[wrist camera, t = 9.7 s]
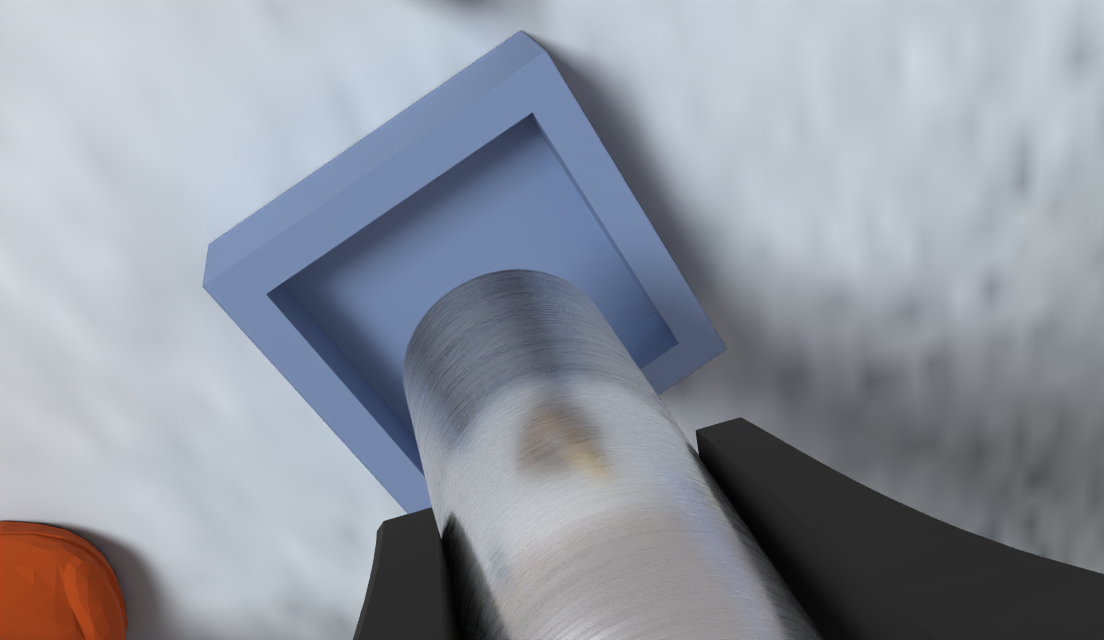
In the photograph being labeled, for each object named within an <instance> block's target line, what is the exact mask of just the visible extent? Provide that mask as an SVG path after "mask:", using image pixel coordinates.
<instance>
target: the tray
mask: <svg viewBox="0 0 1104 640" xmlns="http://www.w3.org/2000/svg"><path fill="white" fill-rule="evenodd" d="M512 269H525V270H535V271H540V272H545V273H548V274H552V275H555V276H558V277H560V278H562V279H564V280H566V281H568V282H570V283H571V284H573V285H574V286H576V287H577V288H579V289H580V290H581V291H583V292H584V293H585V294H586V295H587V296H588V297H589V298H590V299H591V300H592V301H593V303H594V304H595V305H596V306H597V307H598V309H599V310H600V312H601V313H602V315H603V316H604V318H605V319H606V321H607V322H608V324H609V325H610V327H611V328H612V329H613V331H614V332H615V334H616V335H617V337H618V338H619V340H620V341H621V343H622V344H623V346H624V347H625V348H626V350H627V351H628V353H629V354H630V356H631V357H632V359H633V360H634V362H635V363H636V365H637V366H638V367H639V369H640V370H641V372H642V373H643V375H644V376H645V378H646V379H647V381H648V382H649V384H650V385H651V386H652V388H653V389H654V391H655V392H656V394H657V395H659V394H660V393H662V392H663V391H665V390H666V389H668V388H669V387H671V386H672V385H674V384H675V383H677V382H678V381H680V380H681V379H683V378H684V377H686V376H687V375H689V374H690V373H692V372H693V371H695V370H696V369H698V368H699V367H701V366H702V365H704V364H705V363H707V362H708V361H710V360H711V359H713V358H714V357H716V356H717V355H719V354H720V353H722V352H723V351H725V350H726V349H727V348H726V347H725V345H724V343H723V342H722V340H721V338H720V337H719V335H718V334H717V332H716V330H715V329H714V327H713V325H712V324H711V322H710V320H709V319H708V317H707V315H706V314H705V312H704V310H703V309H702V307H701V305H700V304H699V302H698V301H697V299H696V297H695V296H694V294H693V292H692V291H691V289H690V287H689V286H688V284H687V282H686V281H685V279H684V277H683V276H682V274H681V272H680V271H679V269H678V268H677V266H676V264H675V263H674V261H673V259H672V258H671V256H670V254H669V253H668V251H667V249H666V248H665V246H664V244H663V243H662V241H661V239H660V238H659V236H658V235H657V233H656V231H655V230H654V228H653V226H652V225H651V223H650V221H649V220H648V218H647V216H646V215H645V213H644V211H643V210H642V208H641V206H640V205H639V203H638V202H637V200H636V198H635V197H634V195H633V193H632V192H631V190H630V188H629V187H628V185H627V183H626V182H625V180H624V178H623V177H622V175H621V173H620V172H619V170H618V169H617V167H616V165H615V164H614V162H613V160H612V159H611V157H610V155H609V154H608V152H607V150H606V149H605V147H604V145H603V144H602V142H601V140H600V139H599V137H598V136H597V134H596V132H595V131H594V129H593V127H592V126H591V124H590V122H589V121H588V119H587V117H586V116H585V114H584V112H583V111H582V109H581V108H580V106H579V104H578V103H577V101H576V99H575V98H574V96H573V94H572V93H571V91H570V89H569V88H568V86H567V84H566V83H565V81H564V79H563V78H562V76H561V75H560V73H559V71H558V70H557V68H556V66H555V65H554V63H553V61H552V60H551V58H550V56H549V55H548V53H547V51H546V50H544V49H543V48H542V47H541V46H539V45H538V44H537V43H536V42H535V41H533V40H532V39H531V38H530V37H529V36H527V35H526V34H525V33H524V32H522V31H519V32H518V33H516V34H515V35H513V36H512V37H510V38H509V39H507V40H506V41H505V42H503V43H502V44H500V45H499V46H497V47H496V48H494V49H493V50H491V51H490V52H488V53H487V54H486V55H484V56H483V57H481V58H480V59H478V60H477V61H475V62H474V63H472V64H471V65H470V66H468V67H467V68H465V69H464V70H462V71H461V72H459V73H458V74H456V75H455V76H454V77H452V78H451V79H449V80H448V81H446V82H445V83H443V84H442V85H440V86H439V87H438V88H436V89H435V90H433V91H432V92H430V93H429V94H427V95H426V96H424V97H423V98H421V99H420V100H419V101H417V102H416V103H414V104H413V105H411V106H410V107H408V108H407V109H405V110H404V111H403V112H401V113H400V114H398V115H397V116H395V117H394V118H392V119H391V120H389V121H388V122H387V123H385V124H384V125H382V126H381V127H379V128H378V129H376V130H375V131H373V132H372V133H371V134H369V135H368V136H366V137H365V138H363V139H362V140H360V141H359V142H357V143H356V144H355V145H353V146H352V147H350V148H349V149H347V150H346V151H344V152H343V153H341V154H340V155H338V156H337V157H336V158H334V159H333V160H331V161H330V162H328V163H327V164H325V165H324V166H322V167H321V168H320V169H318V170H317V171H315V172H314V173H312V174H311V175H309V176H308V177H306V178H305V179H304V180H302V181H301V182H299V183H298V184H296V185H295V186H293V187H292V188H290V189H289V190H288V191H286V192H285V193H283V194H282V195H280V196H279V197H277V198H276V199H274V200H273V201H271V202H270V203H269V204H267V205H266V206H264V207H263V208H261V209H260V210H258V211H257V212H255V213H254V214H253V215H251V216H250V217H248V218H247V219H245V220H244V221H242V222H241V223H239V224H238V225H237V226H235V227H234V228H232V229H231V230H229V231H228V232H226V233H225V234H223V235H222V236H221V237H219V238H218V239H216V240H215V241H213V242H212V243H210V244H209V247H208V253H207V260H206V266H205V273H204V279H203V286H202V287H203V288H204V289H205V290H206V291H207V292H208V293H209V294H210V295H211V297H212V298H213V299H214V300H215V301H216V302H217V303H218V304H219V305H220V307H221V308H222V309H223V310H224V311H225V312H226V313H227V314H228V315H229V316H230V318H231V319H232V320H233V321H234V322H235V323H236V324H237V325H238V326H239V328H240V329H241V330H242V331H243V332H244V333H245V334H246V335H247V336H248V338H249V339H250V340H251V341H252V342H253V343H254V344H255V345H256V346H257V347H258V349H259V350H260V351H261V352H262V353H263V354H264V355H265V356H266V357H267V359H268V360H269V361H270V362H271V363H272V364H273V365H274V366H275V367H276V369H277V370H278V371H279V372H280V373H281V374H282V375H283V376H284V377H285V378H286V380H287V381H288V382H289V383H290V384H291V385H292V386H293V387H294V388H295V390H296V391H297V392H298V393H299V394H300V395H301V396H302V397H303V398H304V399H305V401H306V402H307V403H308V404H309V405H310V406H311V407H312V408H313V409H314V411H315V412H316V413H317V414H318V415H319V416H320V417H321V418H322V419H323V421H324V422H325V423H326V424H327V425H328V426H329V427H330V428H331V429H332V430H333V432H334V433H335V434H336V435H337V436H338V437H339V438H340V439H341V440H342V442H343V443H344V444H345V445H346V446H347V447H348V448H349V449H350V450H351V451H352V453H353V454H354V455H355V456H356V457H357V458H358V459H359V460H360V461H361V463H362V464H363V465H364V466H365V467H366V468H367V469H368V470H369V471H370V473H371V474H372V475H373V476H374V477H375V478H376V479H377V480H378V481H379V482H380V484H381V485H382V486H383V487H384V488H385V489H386V490H387V491H388V492H389V494H390V495H391V496H392V497H393V498H394V499H395V500H396V501H397V502H398V503H399V505H400V506H401V507H402V508H403V509H404V510H405V511H406V512H407V513H408V514H410V513H413V512H417V511H420V510H424V509H427V508H431V507H432V504H431V500H430V496H429V492H428V488H427V483H426V479H425V475H424V471H423V466H422V462H421V458H420V454H419V450H418V445H417V441H416V437H415V433H414V428H413V424H412V420H411V416H410V412H409V407H408V403H407V399H406V394H405V389H404V383H403V367H404V358H405V354H406V350H407V346H408V344H409V341H410V339H411V336H412V334H413V332H414V330H415V329H416V327H417V325H418V323H419V322H420V320H421V319H422V318H423V316H424V315H425V314H426V312H427V311H428V310H429V309H430V308H431V307H432V306H433V305H434V304H435V303H436V302H437V301H438V300H439V299H440V298H441V297H443V296H444V295H445V294H446V293H448V292H449V291H451V290H452V289H454V288H455V287H457V286H459V285H460V284H462V283H464V282H466V281H468V280H471V279H473V278H475V277H478V276H481V275H484V274H487V273H491V272H496V271H501V270H512Z"/></svg>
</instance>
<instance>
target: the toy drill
mask: <svg viewBox="0 0 1104 640" xmlns="http://www.w3.org/2000/svg"><path fill="white" fill-rule="evenodd" d="M126 628H127V617H126V608H125V601H124V598H123V595H122V592H121V589H120V586H119V583H118V580H117V577H116V575H115V572H114V570H113V569H112V567H111V566H110V564H109V563H108V561H107V559H106V558H105V556H104V555H103V554H102V553H101V552H100V551H99V550H98V549H96V548H95V547H94V546H93V545H92V544H91V543H90V542H89V541H88V540H86V539H84V538H82V537H80V536H78V535H76V534H74V533H72V532H70V531H68V530H65V529H60V528H56V527H51V526H47V525H42V524H37V523H23V522H8V521H3V522H0V640H125V634H126Z"/></svg>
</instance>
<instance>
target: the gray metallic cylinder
mask: <svg viewBox="0 0 1104 640" xmlns="http://www.w3.org/2000/svg"><path fill="white" fill-rule="evenodd" d="M403 383H404V389H405V394H406V399H407V403H408V407H409V412H410V416H411V420H412V424H413V428H414V433H415V437H416V441H417V445H418V450H419V454H420V458H421V462H422V466H423V471H424V475H425V479H426V483H427V488H428V492H429V496H430V500H431V504H432V509H433V512H434V516H435V519H436V523H437V526H438V530H439V533H440V537H441V541H442V545H443V549H444V553H445V557H446V561H447V566H448V570H449V574H450V578H451V582H452V587H453V591H454V597H455V603H456V608H457V612H458V617H459V622H460V627H461V631H462V635H463V639H464V640H825V639H824V638H823V637H822V635H821V634H820V632H819V631H818V629H817V628H816V626H815V625H814V623H813V622H812V620H811V619H810V618H809V616H808V615H807V613H806V612H805V610H804V609H803V607H802V606H801V604H800V603H799V601H798V600H797V599H796V597H795V596H794V594H793V593H792V591H791V590H790V588H789V587H788V585H787V584H786V582H785V581H784V579H783V578H782V577H781V575H780V574H779V572H778V571H777V569H776V568H775V566H774V565H773V563H772V562H771V560H770V559H769V558H768V556H767V555H766V553H765V552H764V550H763V549H762V547H761V546H760V544H759V543H758V541H757V540H756V539H755V537H754V536H753V534H752V533H751V531H750V530H749V528H748V527H747V525H746V524H745V522H744V521H743V520H742V518H741V517H740V515H739V514H738V512H737V511H736V509H735V508H734V506H733V505H732V503H731V502H730V501H729V499H728V498H727V496H726V495H725V493H724V492H723V490H722V489H721V487H720V486H719V484H718V483H717V482H716V480H715V479H714V477H713V476H712V474H711V473H710V471H709V470H708V468H707V467H706V465H705V464H704V463H703V461H702V460H701V458H700V457H699V455H698V454H697V452H696V451H695V449H694V448H693V446H692V445H691V443H690V442H689V441H688V439H687V438H686V436H685V435H684V433H683V432H682V430H681V429H680V427H679V426H678V424H677V423H676V422H675V420H674V419H673V417H672V416H671V414H670V413H669V411H668V410H667V408H666V407H665V405H664V404H663V403H662V401H661V400H660V398H659V397H658V395H657V394H656V392H655V391H654V389H653V388H652V386H651V385H650V384H649V382H648V381H647V379H646V378H645V376H644V375H643V373H642V372H641V370H640V369H639V367H638V366H637V365H636V363H635V362H634V360H633V359H632V357H631V356H630V354H629V353H628V351H627V350H626V348H625V347H624V346H623V344H622V343H621V341H620V340H619V338H618V337H617V335H616V334H615V332H614V331H613V329H612V328H611V327H610V325H609V324H608V322H607V321H606V319H605V318H604V316H603V315H602V313H601V312H600V310H599V309H598V307H597V306H596V305H595V304H594V303H593V301H592V300H591V299H590V298H589V297H588V296H587V295H586V294H585V293H584V292H583V291H581V290H580V289H579V288H577V287H576V286H574V285H573V284H571V283H570V282H568V281H566V280H564V279H562V278H560V277H558V276H555V275H552V274H548V273H545V272H540V271H535V270H525V269H512V270H501V271H496V272H491V273H487V274H484V275H481V276H478V277H475V278H473V279H471V280H468V281H466V282H464V283H462V284H460V285H459V286H457V287H455V288H454V289H452V290H451V291H449V292H448V293H446V294H445V295H444V296H443V297H441V298H440V299H439V300H438V301H437V302H436V303H435V304H434V305H433V306H432V307H431V308H430V309H429V310H428V311H427V312H426V314H425V315H424V316H423V318H422V319H421V320H420V322H419V323H418V325H417V327H416V329H415V330H414V332H413V334H412V336H411V339H410V341H409V344H408V346H407V350H406V354H405V358H404V367H403Z"/></svg>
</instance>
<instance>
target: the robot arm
mask: <svg viewBox="0 0 1104 640" xmlns="http://www.w3.org/2000/svg"><path fill="white" fill-rule="evenodd" d="M696 436H697V444H698V451H699V457H700V458H701V460H702V461H703V463H704V464H705V465H706V467H707V468H708V470H709V471H710V473H711V474H712V476H713V477H714V479H715V480H716V482H717V483H718V484H719V486H720V487H721V489H722V490H723V492H724V493H725V495H726V496H727V498H728V499H729V501H730V502H731V503H732V505H733V506H734V508H735V509H736V511H737V512H738V514H739V515H740V517H741V518H742V520H743V521H744V522H745V524H746V525H747V527H748V528H749V530H750V531H751V533H752V534H753V536H754V537H755V539H756V540H757V541H758V543H759V544H760V546H761V547H762V549H763V550H764V552H765V553H766V555H767V556H768V558H769V559H770V560H771V562H772V563H773V565H774V566H775V568H776V569H777V571H778V572H779V574H780V575H781V577H782V578H783V579H784V581H785V582H786V584H787V585H788V587H789V588H790V590H791V591H792V593H793V594H794V596H795V597H796V599H797V600H798V601H799V603H800V604H801V606H802V607H803V609H804V610H805V612H806V613H807V615H808V616H809V618H810V619H811V620H812V622H813V623H814V625H815V626H816V628H817V629H818V631H819V632H820V634H821V635H822V637H823V638H824V639H825V640H1104V574H1102V573H1098V572H1094V571H1090V570H1087V569H1083V568H1080V567H1076V566H1072V565H1069V564H1065V563H1062V562H1058V561H1055V560H1051V559H1047V558H1044V557H1040V556H1037V555H1034V554H1031V553H1028V552H1025V551H1021V550H1018V549H1015V548H1012V547H1009V546H1006V545H1004V544H1001V543H998V542H995V541H993V540H990V539H987V538H984V537H982V536H979V535H976V534H973V533H971V532H968V531H965V530H962V529H960V528H957V527H955V526H952V525H950V524H947V523H945V522H942V521H940V520H937V519H935V518H933V517H930V516H928V515H926V514H924V513H922V512H919V511H917V510H915V509H913V508H910V507H908V506H906V505H904V504H902V503H899V502H897V501H895V500H893V499H891V498H888V497H886V496H884V495H882V494H880V493H878V492H876V491H874V490H872V489H870V488H868V487H866V486H864V485H862V484H860V483H858V482H856V481H854V480H852V479H850V478H849V477H847V476H845V475H843V474H841V473H839V472H837V471H835V470H833V469H832V468H830V467H828V466H826V465H824V464H822V463H821V462H819V461H817V460H815V459H813V458H812V457H810V456H808V455H806V454H805V453H803V452H801V451H799V450H797V449H796V448H794V447H792V446H790V445H789V444H787V443H785V442H783V441H782V440H780V439H778V438H776V437H775V436H773V435H771V434H770V433H768V432H766V431H764V430H763V429H761V428H759V427H757V426H756V425H754V424H752V423H750V422H748V421H747V420H745V419H743V418H741V417H740V418H736V419H733V420H729V421H726V422H722V423H719V424H716V425H712V426H709V427H705V428H702V429H698V430H696ZM353 640H464V639H463V635H462V631H461V627H460V622H459V617H458V612H457V608H456V603H455V597H454V591H453V587H452V582H451V578H450V574H449V570H448V566H447V561H446V557H445V553H444V549H443V545H442V541H441V537H440V533H439V530H438V526H437V523H436V519H435V516H434V512H433V509H432V507H431V508H427V509H424V510H420V511H417V512H413V513H410V514H406V515H403V516H400V517H396V518H393V519H389V520H386V521H384V522H383V523H382V525H381V526H380V528H379V529H378V530H377V538H376V547H375V554H374V560H373V565H372V570H371V575H370V579H369V584H368V588H367V592H366V596H365V600H364V604H363V607H362V610H361V614H360V617H359V621H358V624H357V628H356V631H355V634H354V638H353Z"/></svg>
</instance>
